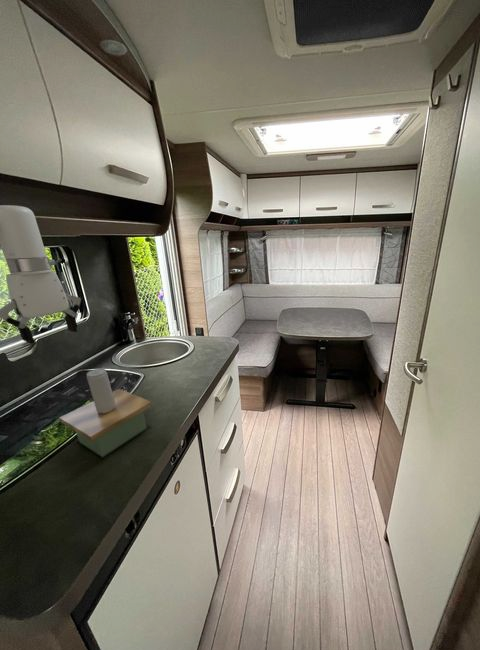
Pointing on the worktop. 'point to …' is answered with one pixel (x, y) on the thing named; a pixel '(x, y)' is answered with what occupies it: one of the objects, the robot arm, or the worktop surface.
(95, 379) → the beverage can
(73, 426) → the board
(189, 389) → the worktop surface
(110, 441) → the box
